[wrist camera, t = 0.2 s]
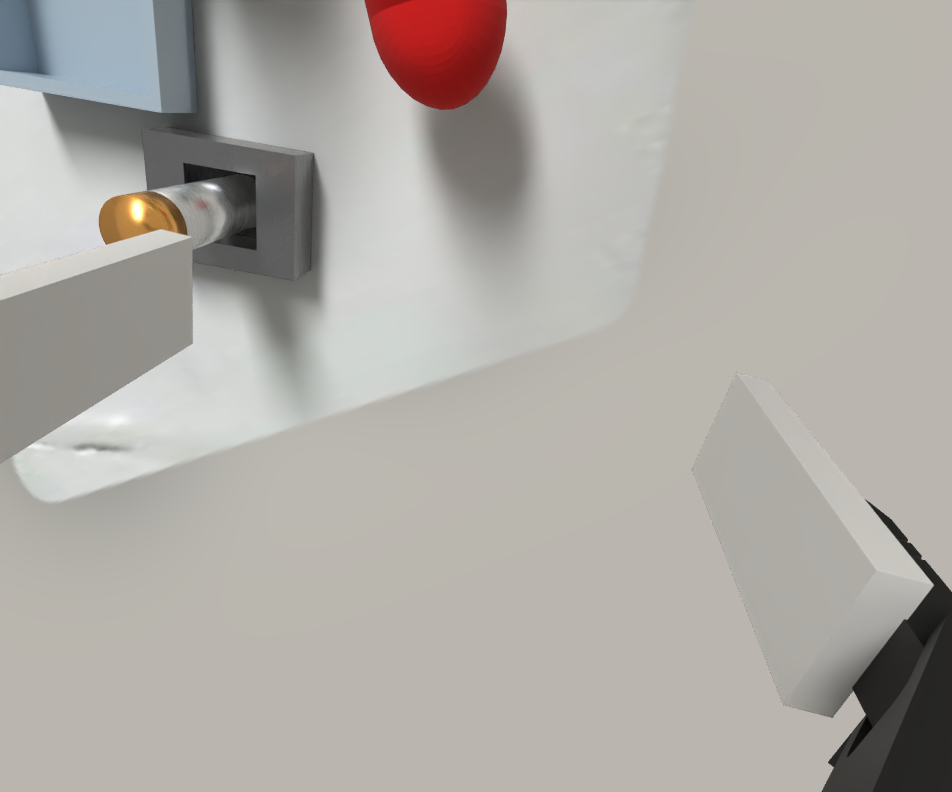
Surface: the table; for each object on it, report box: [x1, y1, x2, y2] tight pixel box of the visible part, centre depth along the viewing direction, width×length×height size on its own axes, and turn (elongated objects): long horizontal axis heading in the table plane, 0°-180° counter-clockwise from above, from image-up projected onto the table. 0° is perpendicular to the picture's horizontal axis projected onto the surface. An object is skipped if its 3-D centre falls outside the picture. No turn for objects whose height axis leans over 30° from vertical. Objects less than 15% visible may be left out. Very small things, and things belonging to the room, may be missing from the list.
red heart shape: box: [365, 0, 507, 110], centre depth 31 cm, size 9×7×10 cm
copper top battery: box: [99, 174, 256, 250], centre depth 36 cm, size 4×4×12 cm
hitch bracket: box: [142, 128, 313, 281], centre depth 40 cm, size 8×10×3 cm
